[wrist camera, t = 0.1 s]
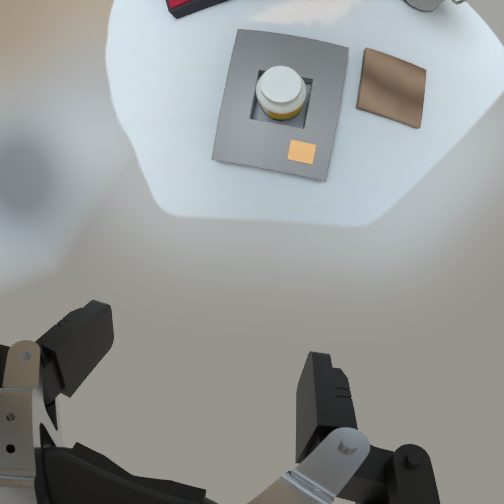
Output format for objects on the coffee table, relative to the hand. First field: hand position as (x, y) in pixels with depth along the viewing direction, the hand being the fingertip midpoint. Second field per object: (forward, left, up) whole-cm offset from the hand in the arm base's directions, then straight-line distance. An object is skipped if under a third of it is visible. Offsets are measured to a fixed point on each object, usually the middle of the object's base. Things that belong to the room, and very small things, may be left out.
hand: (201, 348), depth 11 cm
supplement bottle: (-15, 0, -29) cm, 33 cm away
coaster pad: (-21, +14, -29) cm, 38 cm away
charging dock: (-15, 0, -29) cm, 33 cm away
